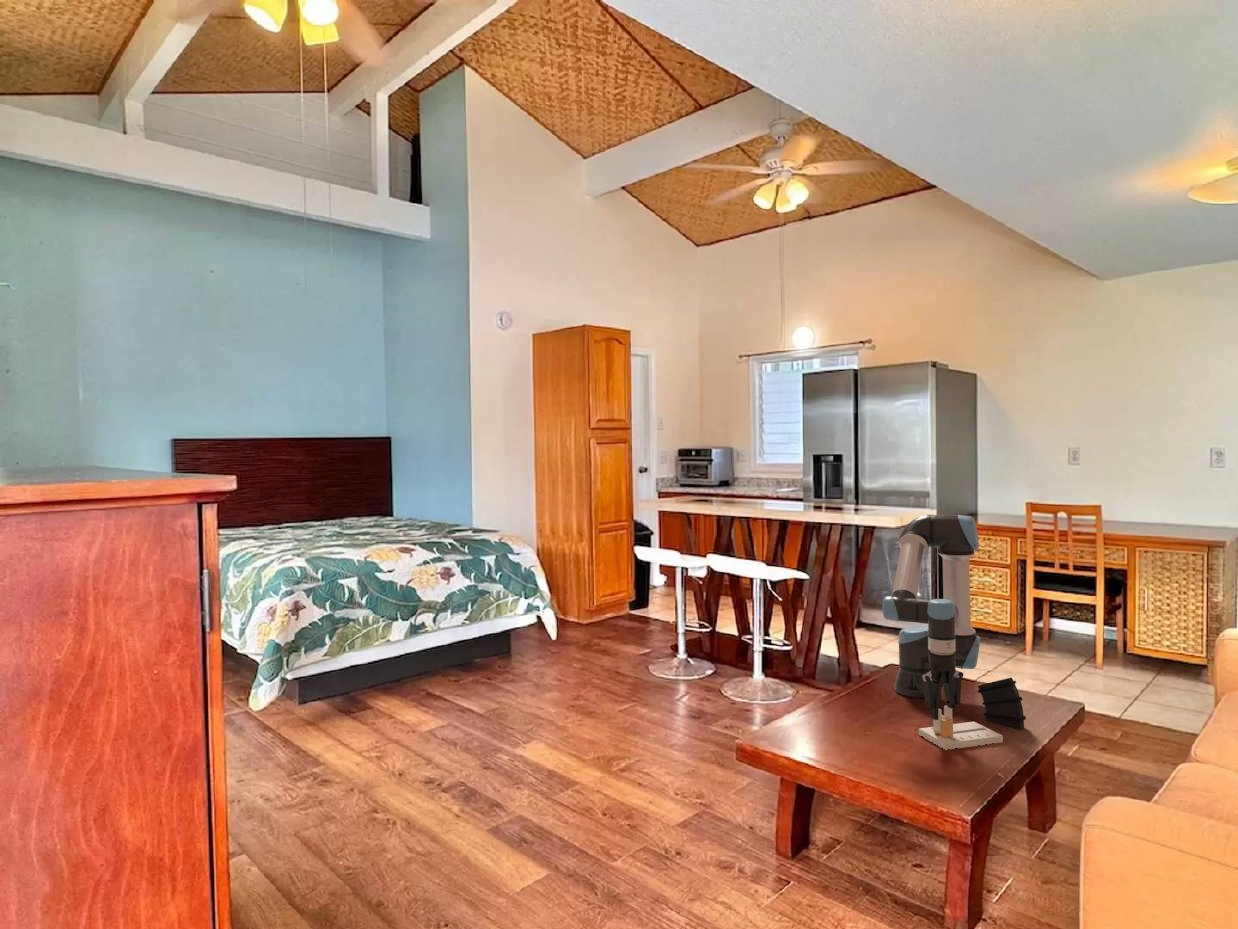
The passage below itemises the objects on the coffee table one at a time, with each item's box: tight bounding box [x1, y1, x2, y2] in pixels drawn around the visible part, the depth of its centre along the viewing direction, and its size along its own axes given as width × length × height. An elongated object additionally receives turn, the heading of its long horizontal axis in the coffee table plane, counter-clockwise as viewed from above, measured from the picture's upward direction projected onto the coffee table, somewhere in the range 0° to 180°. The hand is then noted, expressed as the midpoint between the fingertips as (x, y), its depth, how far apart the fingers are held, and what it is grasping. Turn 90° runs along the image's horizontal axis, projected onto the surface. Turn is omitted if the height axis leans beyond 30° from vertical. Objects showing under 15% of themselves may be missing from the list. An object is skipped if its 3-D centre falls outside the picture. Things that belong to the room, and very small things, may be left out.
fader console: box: [918, 721, 1004, 751], centre depth 220 cm, size 12×20×2 cm, turn 104°
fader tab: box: [932, 714, 954, 737], centre depth 218 cm, size 5×3×5 cm, turn 14°
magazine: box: [977, 677, 1027, 730], centre depth 231 cm, size 4×13×15 cm, turn 38°
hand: (943, 729), depth 218 cm, fingers closed on fader tab, 3 cm apart
